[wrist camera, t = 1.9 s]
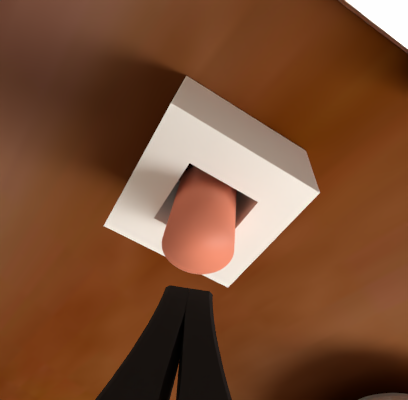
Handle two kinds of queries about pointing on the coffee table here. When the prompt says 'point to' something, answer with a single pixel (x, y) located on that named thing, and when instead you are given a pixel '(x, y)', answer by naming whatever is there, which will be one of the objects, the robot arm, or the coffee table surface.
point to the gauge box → (216, 175)
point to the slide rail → (384, 18)
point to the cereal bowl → (386, 396)
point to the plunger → (201, 224)
